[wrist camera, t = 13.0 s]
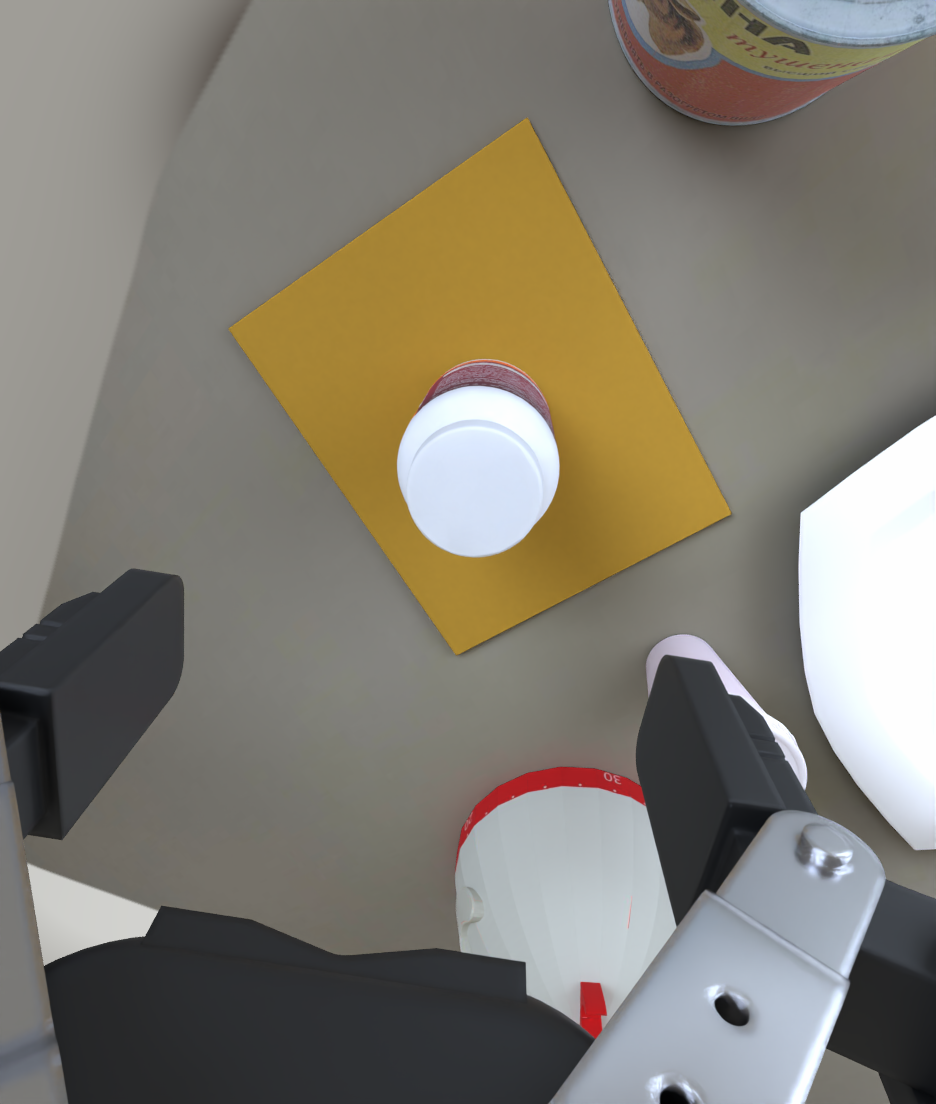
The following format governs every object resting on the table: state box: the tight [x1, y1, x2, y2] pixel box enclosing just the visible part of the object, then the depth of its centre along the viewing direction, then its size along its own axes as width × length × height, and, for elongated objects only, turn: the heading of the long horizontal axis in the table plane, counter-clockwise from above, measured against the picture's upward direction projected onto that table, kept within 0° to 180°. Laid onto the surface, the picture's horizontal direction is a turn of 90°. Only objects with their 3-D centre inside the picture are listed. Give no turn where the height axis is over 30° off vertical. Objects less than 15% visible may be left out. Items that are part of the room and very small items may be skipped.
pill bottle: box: [397, 359, 559, 557], centre depth 30 cm, size 6×6×11 cm
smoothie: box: [646, 634, 807, 791], centre depth 33 cm, size 6×6×14 cm
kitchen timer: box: [455, 767, 677, 1039], centre depth 38 cm, size 14×14×15 cm
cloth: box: [229, 118, 732, 655], centre depth 35 cm, size 20×16×1 cm
